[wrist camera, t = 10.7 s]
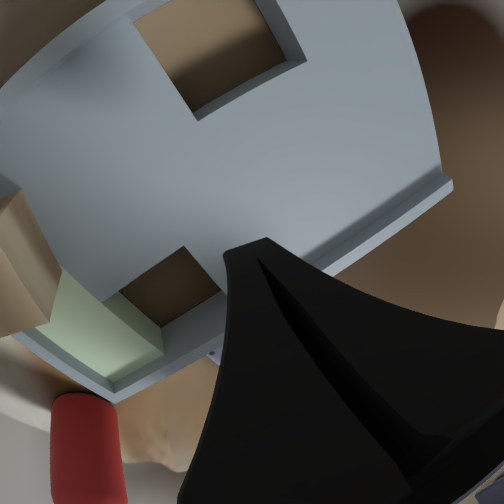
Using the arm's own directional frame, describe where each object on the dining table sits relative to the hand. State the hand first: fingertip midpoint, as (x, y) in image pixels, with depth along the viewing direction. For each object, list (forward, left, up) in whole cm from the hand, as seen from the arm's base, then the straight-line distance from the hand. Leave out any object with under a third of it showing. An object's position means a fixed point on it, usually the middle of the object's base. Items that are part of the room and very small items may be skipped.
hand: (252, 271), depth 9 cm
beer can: (-12, +22, -10) cm, 27 cm away
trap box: (0, 0, -10) cm, 10 cm away
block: (+4, +10, -7) cm, 13 cm away
